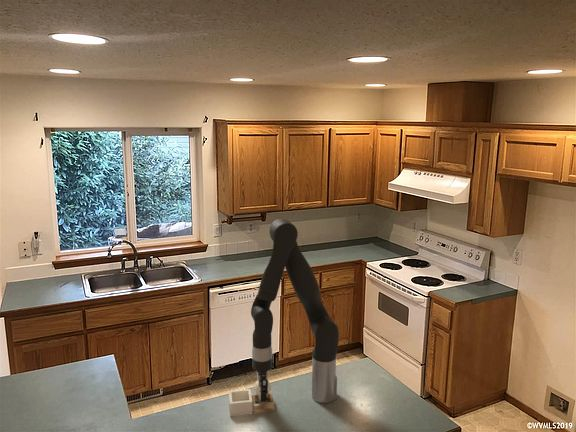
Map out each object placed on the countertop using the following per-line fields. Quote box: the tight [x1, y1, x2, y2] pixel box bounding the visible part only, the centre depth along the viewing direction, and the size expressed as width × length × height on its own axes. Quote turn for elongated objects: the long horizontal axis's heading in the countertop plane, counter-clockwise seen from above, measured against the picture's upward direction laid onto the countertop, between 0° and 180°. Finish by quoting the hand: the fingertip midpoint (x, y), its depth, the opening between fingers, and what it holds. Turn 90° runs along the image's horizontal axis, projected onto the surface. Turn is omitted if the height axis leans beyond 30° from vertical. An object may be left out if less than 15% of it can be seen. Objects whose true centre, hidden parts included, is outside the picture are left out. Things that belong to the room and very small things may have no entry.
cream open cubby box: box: [228, 388, 254, 417], centre depth 174 cm, size 8×8×5 cm
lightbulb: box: [253, 379, 272, 404], centre depth 175 cm, size 6×6×11 cm
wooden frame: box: [251, 391, 276, 414], centre depth 176 cm, size 8×8×3 cm
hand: (262, 395), depth 175 cm, fingers closed on lightbulb, 6 cm apart
